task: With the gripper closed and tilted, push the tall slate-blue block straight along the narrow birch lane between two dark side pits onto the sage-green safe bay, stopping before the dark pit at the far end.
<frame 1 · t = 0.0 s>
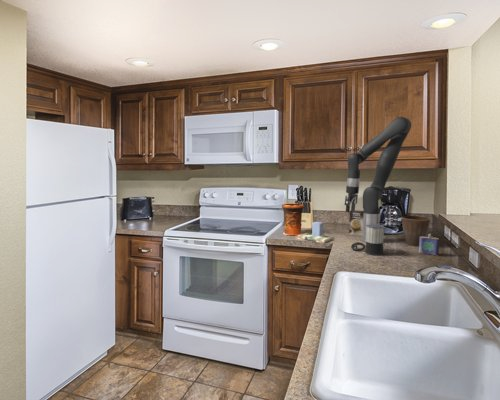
hand: (350, 211, 216), 17 cm above the worktop, tool pointing down, fingers open, 8 cm apart
slate block: (317, 235, 217), point 2 cm above the worktop, touching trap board
plant pot: (414, 245, 201), on the worktop
coffee box: (356, 234, 229), on the worktop
flask: (428, 254, 180), on the worktop
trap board: (315, 239, 215), on the worktop
vessel: (292, 233, 232), on the worktop
milk frother: (366, 252, 185), on the worktop
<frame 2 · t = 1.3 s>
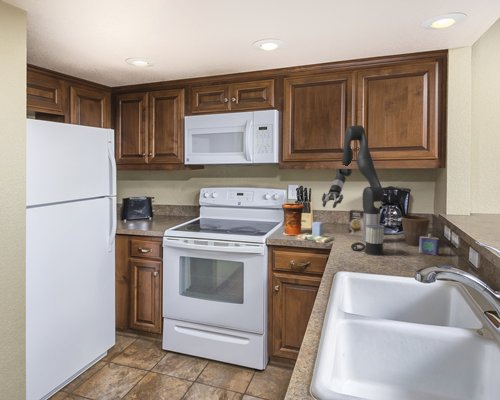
hand: (328, 206, 227), 18 cm above the worktop, tool tilted 45°, fingers open, 6 cm apart
nothing on the worktop moved.
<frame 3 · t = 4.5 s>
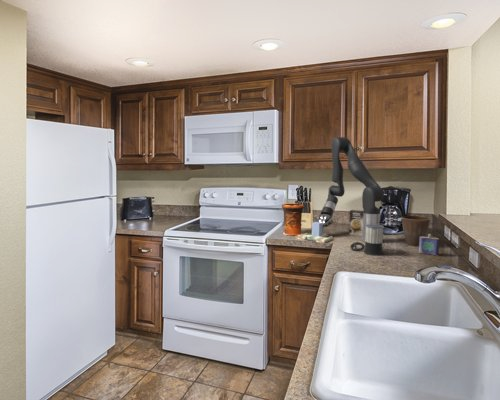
hand: (319, 230, 219), 4 cm above the worktop, tool tilted 45°, fingers closed
slate block: (317, 235, 217), point 2 cm above the worktop, touching gripper
everything else where it was.
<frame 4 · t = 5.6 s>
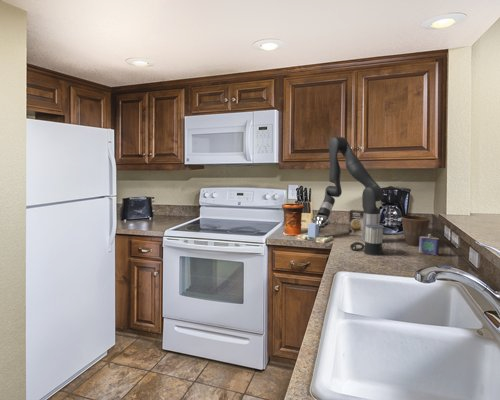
hand: (315, 232, 215), 4 cm above the worktop, tool tilted 45°, fingers closed
slate block: (313, 236, 213), point 2 cm above the worktop, touching gripper, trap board
everything else where it was.
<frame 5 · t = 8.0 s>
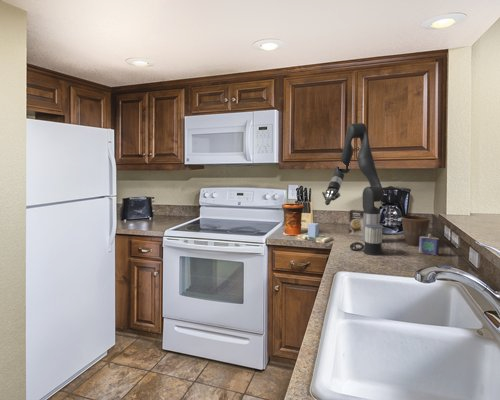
hand: (326, 204, 225), 20 cm above the worktop, tool tilted 45°, fingers closed
slate block: (313, 236, 213), point 2 cm above the worktop, touching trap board
everything else where it was.
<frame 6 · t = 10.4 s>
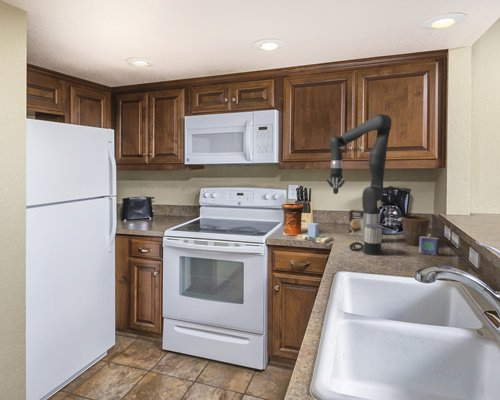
hand: (335, 193, 227), 27 cm above the worktop, tool pointing down, fingers closed
nothing on the worktop moved.
at the end: slate block 0.6 cm from the target spot on the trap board, point 2.0 cm above the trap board's base; slate block tilted 0°; slate block moved 5.3 cm from its start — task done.
